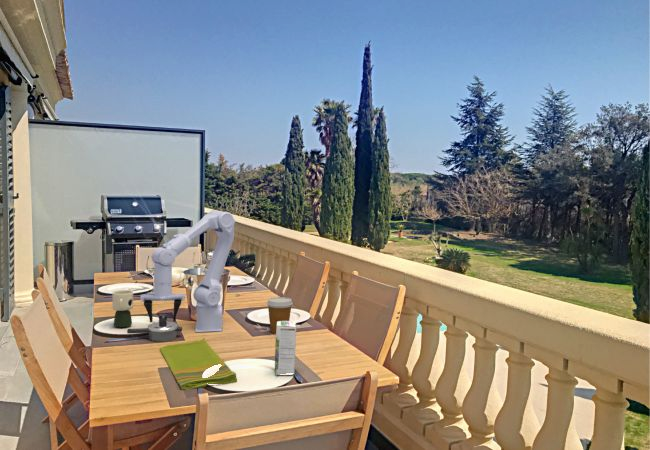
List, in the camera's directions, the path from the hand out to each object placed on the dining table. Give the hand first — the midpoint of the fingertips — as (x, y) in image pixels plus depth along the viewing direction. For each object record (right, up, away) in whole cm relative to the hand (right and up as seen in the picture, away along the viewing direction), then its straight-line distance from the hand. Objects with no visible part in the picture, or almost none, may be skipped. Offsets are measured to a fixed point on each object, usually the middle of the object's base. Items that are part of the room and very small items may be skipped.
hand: (162, 321), depth 178 cm
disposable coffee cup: (+39, -6, +12) cm, 41 cm away
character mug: (-19, -4, +12) cm, 23 cm away
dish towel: (+18, -9, -25) cm, 32 cm away
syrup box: (+45, -10, -29) cm, 54 cm away
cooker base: (-3, -6, 0) cm, 6 cm away
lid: (0, -3, 0) cm, 3 cm away
